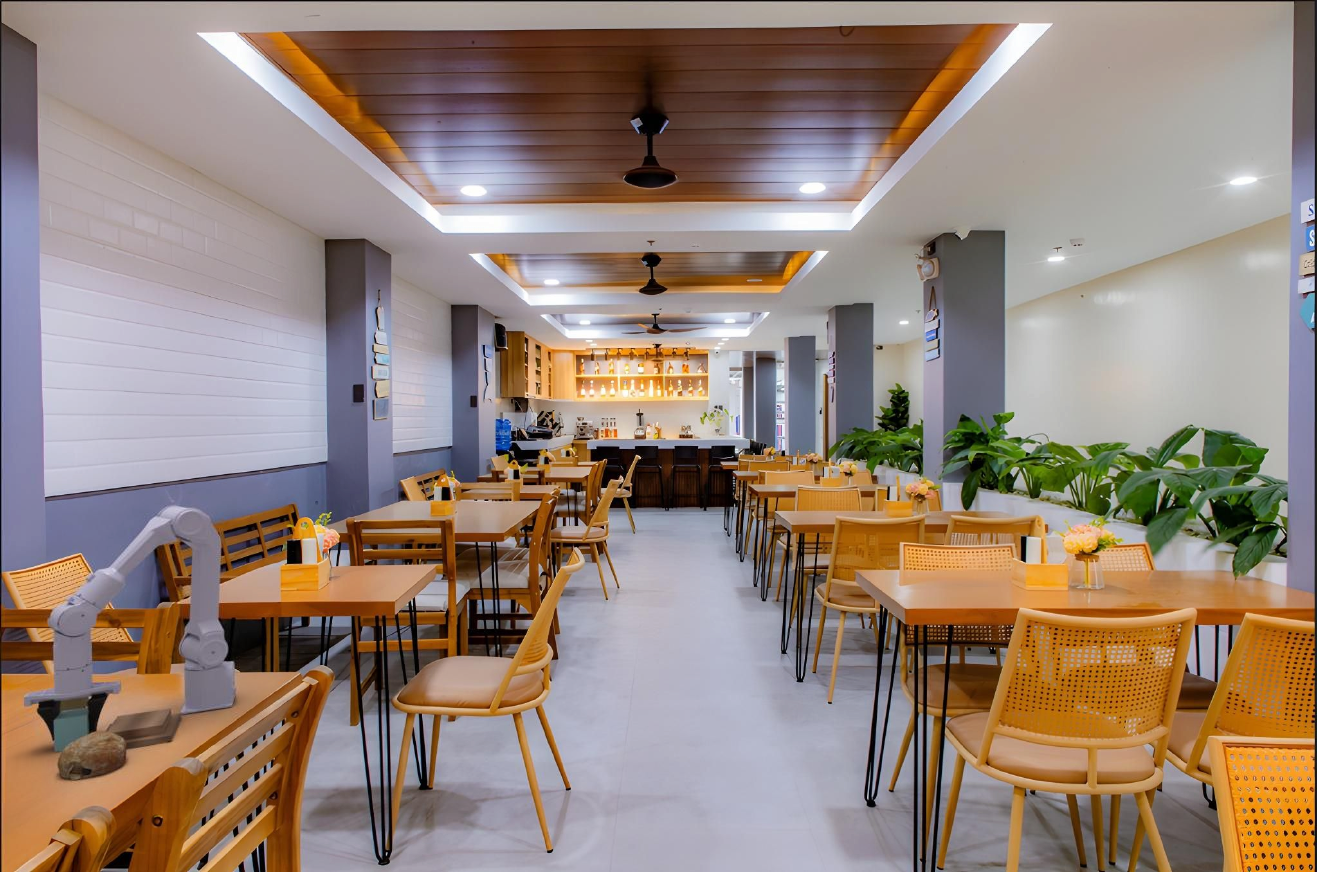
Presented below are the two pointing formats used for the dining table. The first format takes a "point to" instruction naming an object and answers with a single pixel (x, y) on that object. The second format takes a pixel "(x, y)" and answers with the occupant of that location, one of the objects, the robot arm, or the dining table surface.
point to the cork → (73, 704)
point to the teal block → (70, 727)
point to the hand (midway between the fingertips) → (74, 735)
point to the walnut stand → (146, 727)
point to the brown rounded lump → (92, 755)
